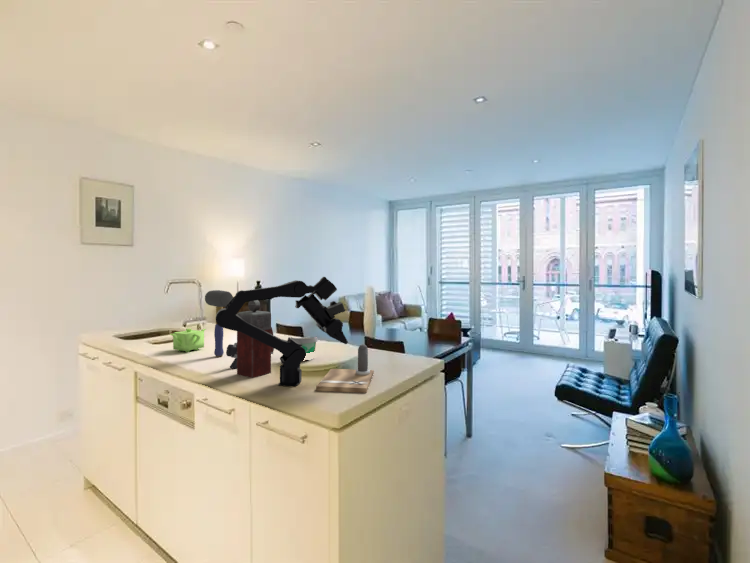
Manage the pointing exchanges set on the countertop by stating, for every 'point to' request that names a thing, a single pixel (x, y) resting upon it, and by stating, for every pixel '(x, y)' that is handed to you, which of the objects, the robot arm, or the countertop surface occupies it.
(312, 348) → the food container
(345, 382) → the board
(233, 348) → the gun
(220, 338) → the rubber mallet
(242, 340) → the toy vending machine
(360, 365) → the grey domed cylinder
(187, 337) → the teapot
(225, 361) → the countertop surface
